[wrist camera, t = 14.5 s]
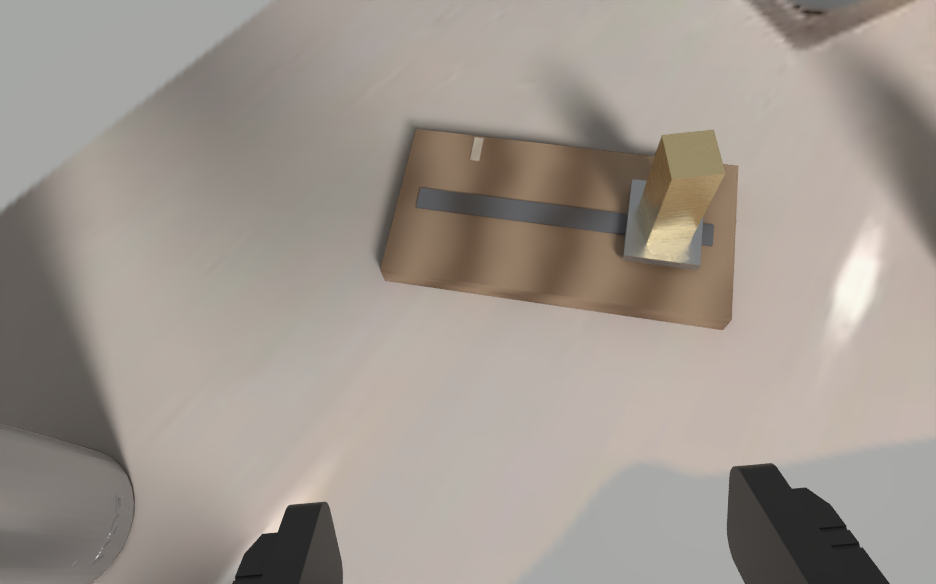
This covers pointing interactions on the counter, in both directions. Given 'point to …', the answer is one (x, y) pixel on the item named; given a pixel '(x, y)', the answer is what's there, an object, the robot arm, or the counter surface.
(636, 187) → the fader lever
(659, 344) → the counter surface
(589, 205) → the fader board
